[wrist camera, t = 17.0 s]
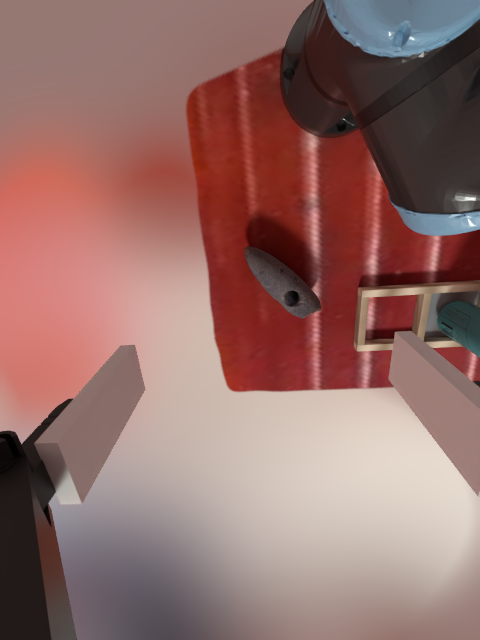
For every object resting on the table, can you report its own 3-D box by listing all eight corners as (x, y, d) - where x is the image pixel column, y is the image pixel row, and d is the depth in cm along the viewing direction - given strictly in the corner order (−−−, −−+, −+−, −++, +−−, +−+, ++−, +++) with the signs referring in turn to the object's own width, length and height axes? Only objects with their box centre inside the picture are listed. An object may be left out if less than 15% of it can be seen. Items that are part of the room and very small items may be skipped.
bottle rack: (353, 346, 55) (357, 351, 53) (358, 287, 51) (362, 290, 49) (473, 340, 54) (481, 345, 52) (489, 279, 50) (498, 282, 48)
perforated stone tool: (235, 255, 50) (233, 264, 43) (258, 232, 48) (259, 237, 42) (295, 314, 53) (301, 330, 47) (318, 294, 52) (327, 308, 45)
